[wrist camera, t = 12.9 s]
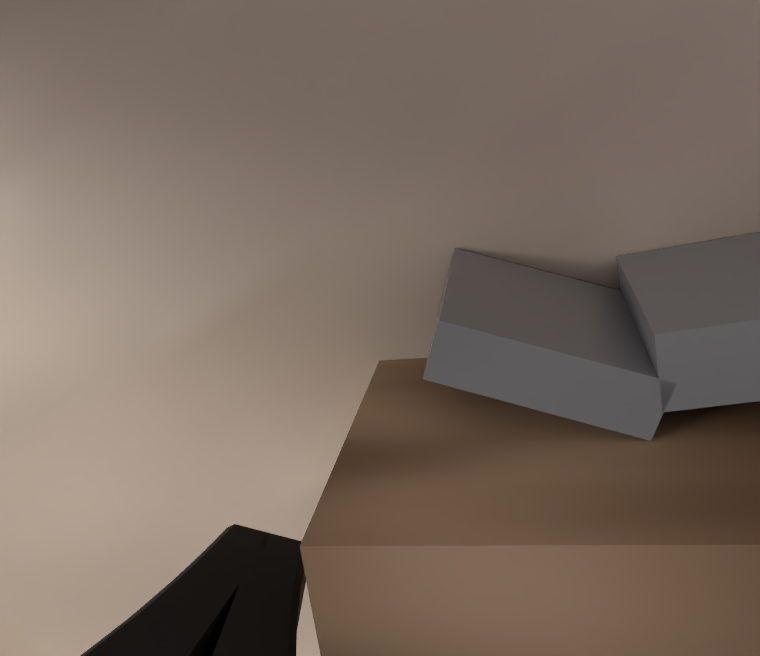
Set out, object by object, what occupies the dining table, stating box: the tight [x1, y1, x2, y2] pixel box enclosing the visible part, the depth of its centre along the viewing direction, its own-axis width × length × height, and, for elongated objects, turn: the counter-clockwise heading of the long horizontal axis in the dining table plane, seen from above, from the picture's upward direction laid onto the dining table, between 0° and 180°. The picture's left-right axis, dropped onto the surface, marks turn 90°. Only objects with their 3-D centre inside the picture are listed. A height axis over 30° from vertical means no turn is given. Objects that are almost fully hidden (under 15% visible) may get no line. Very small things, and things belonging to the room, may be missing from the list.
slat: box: [300, 358, 760, 656], centre depth 9 cm, size 10×4×5 cm, turn 98°
